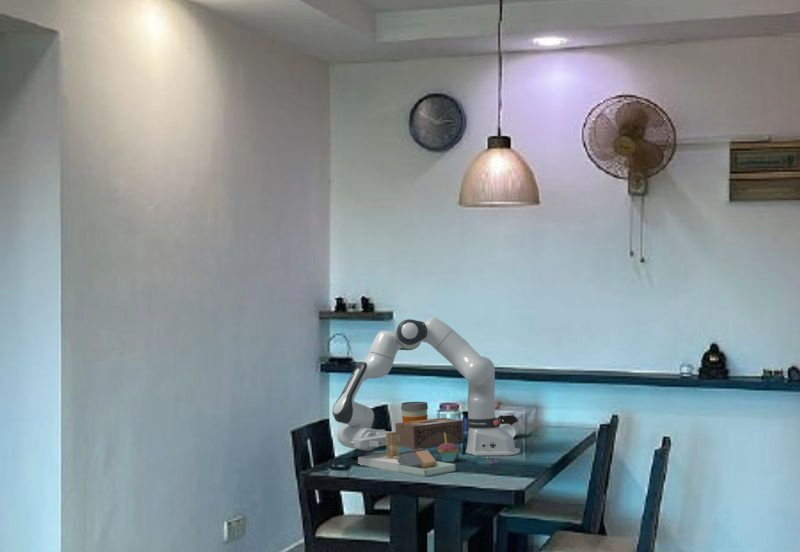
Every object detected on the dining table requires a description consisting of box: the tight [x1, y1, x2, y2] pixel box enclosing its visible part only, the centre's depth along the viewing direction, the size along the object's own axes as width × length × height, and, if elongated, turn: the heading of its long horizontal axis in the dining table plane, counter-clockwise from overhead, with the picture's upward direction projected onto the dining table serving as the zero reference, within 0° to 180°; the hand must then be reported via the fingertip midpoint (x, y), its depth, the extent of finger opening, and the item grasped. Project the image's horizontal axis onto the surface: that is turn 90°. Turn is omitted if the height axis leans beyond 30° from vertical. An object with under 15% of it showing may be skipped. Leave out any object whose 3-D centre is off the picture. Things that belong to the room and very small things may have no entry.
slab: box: [357, 451, 401, 473], centre depth 407 cm, size 25×15×3 cm, turn 40°
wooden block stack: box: [385, 430, 424, 463], centre depth 404 cm, size 13×12×10 cm
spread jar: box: [496, 410, 520, 439], centre depth 468 cm, size 12×11×12 cm
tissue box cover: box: [394, 417, 464, 450], centre depth 459 cm, size 26×14×10 cm, turn 123°
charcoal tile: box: [398, 452, 422, 468], centre depth 394 cm, size 6×6×3 cm
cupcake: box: [437, 431, 460, 463], centre depth 414 cm, size 9×8×12 cm
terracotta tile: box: [415, 449, 437, 469], centre depth 398 cm, size 6×6×3 cm
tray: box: [398, 460, 457, 478], centre depth 392 cm, size 15×15×2 cm
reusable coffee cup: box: [400, 401, 429, 422], centre depth 487 cm, size 13×13×15 cm
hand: (388, 442), depth 409 cm, fingers open, 8 cm apart
